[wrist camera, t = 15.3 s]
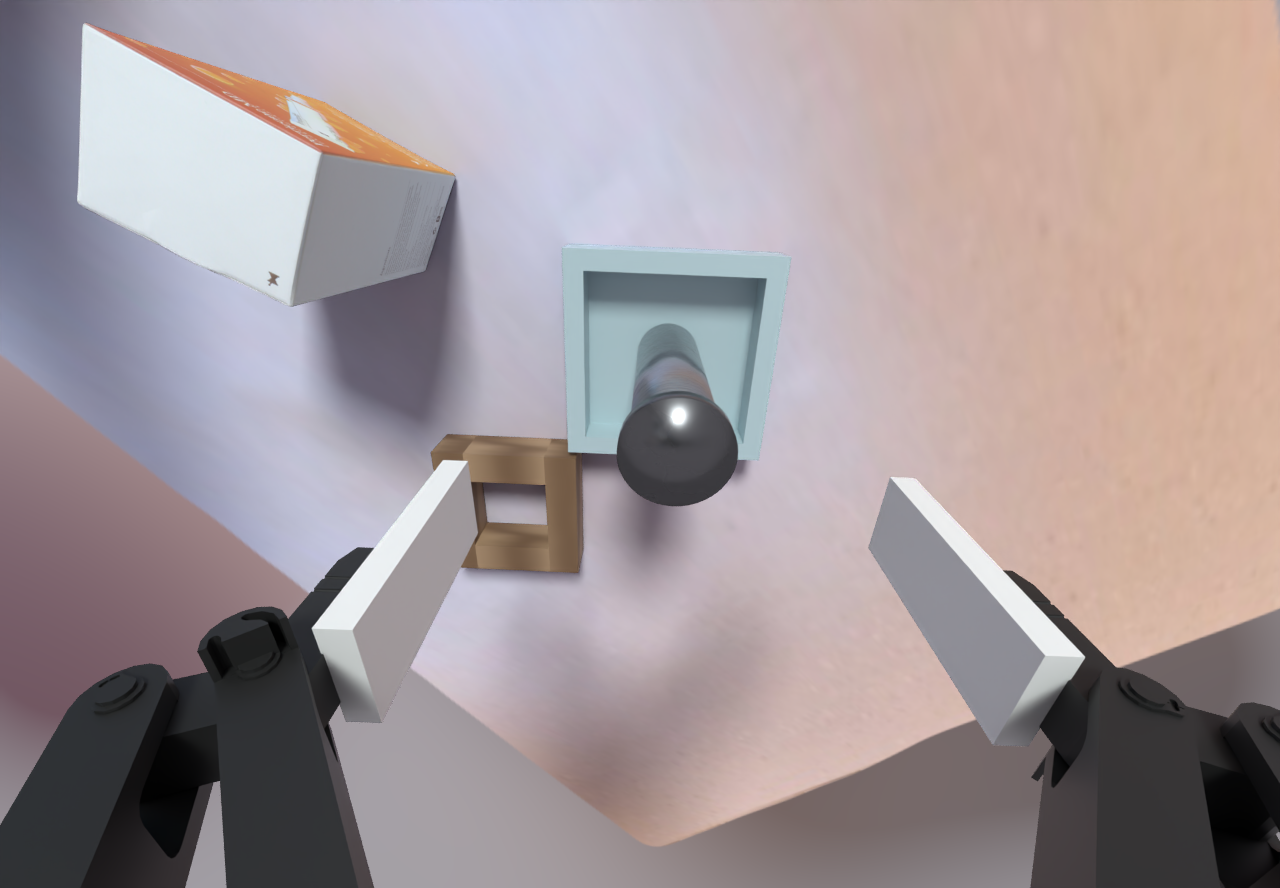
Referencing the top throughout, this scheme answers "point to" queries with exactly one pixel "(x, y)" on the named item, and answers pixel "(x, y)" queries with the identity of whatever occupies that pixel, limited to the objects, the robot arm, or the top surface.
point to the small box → (249, 175)
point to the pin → (674, 424)
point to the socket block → (522, 465)
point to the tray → (678, 294)
